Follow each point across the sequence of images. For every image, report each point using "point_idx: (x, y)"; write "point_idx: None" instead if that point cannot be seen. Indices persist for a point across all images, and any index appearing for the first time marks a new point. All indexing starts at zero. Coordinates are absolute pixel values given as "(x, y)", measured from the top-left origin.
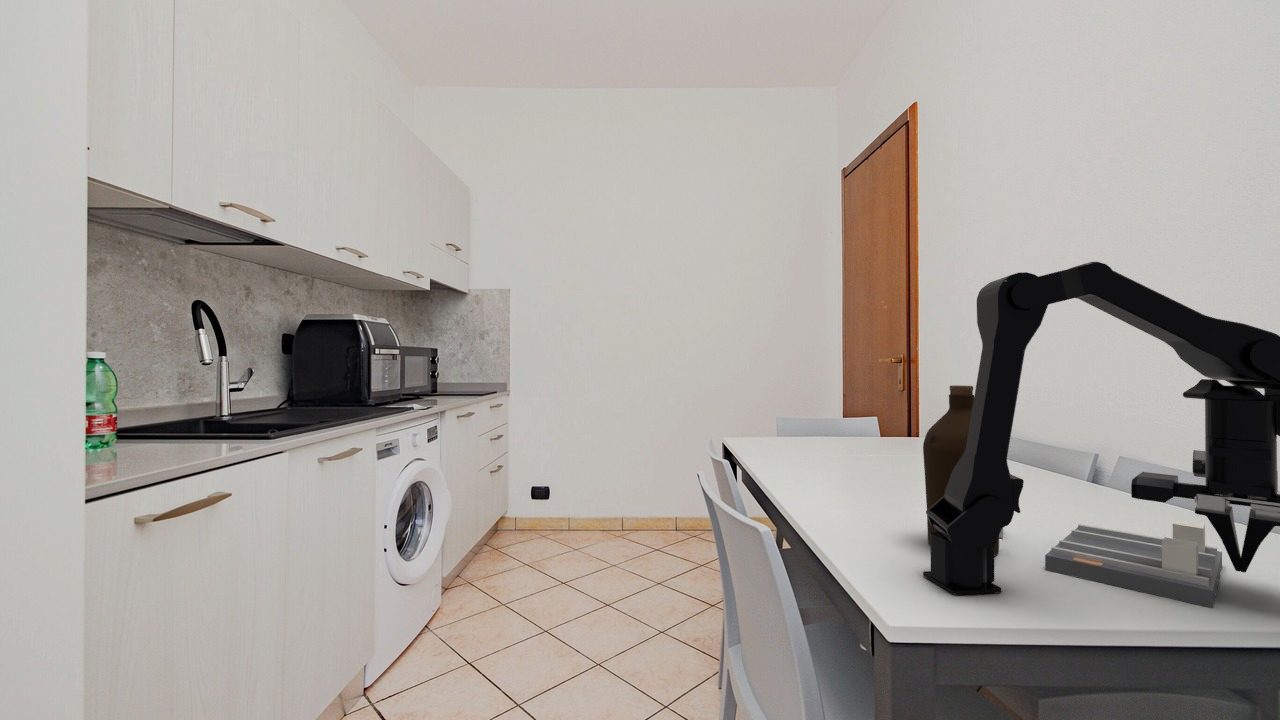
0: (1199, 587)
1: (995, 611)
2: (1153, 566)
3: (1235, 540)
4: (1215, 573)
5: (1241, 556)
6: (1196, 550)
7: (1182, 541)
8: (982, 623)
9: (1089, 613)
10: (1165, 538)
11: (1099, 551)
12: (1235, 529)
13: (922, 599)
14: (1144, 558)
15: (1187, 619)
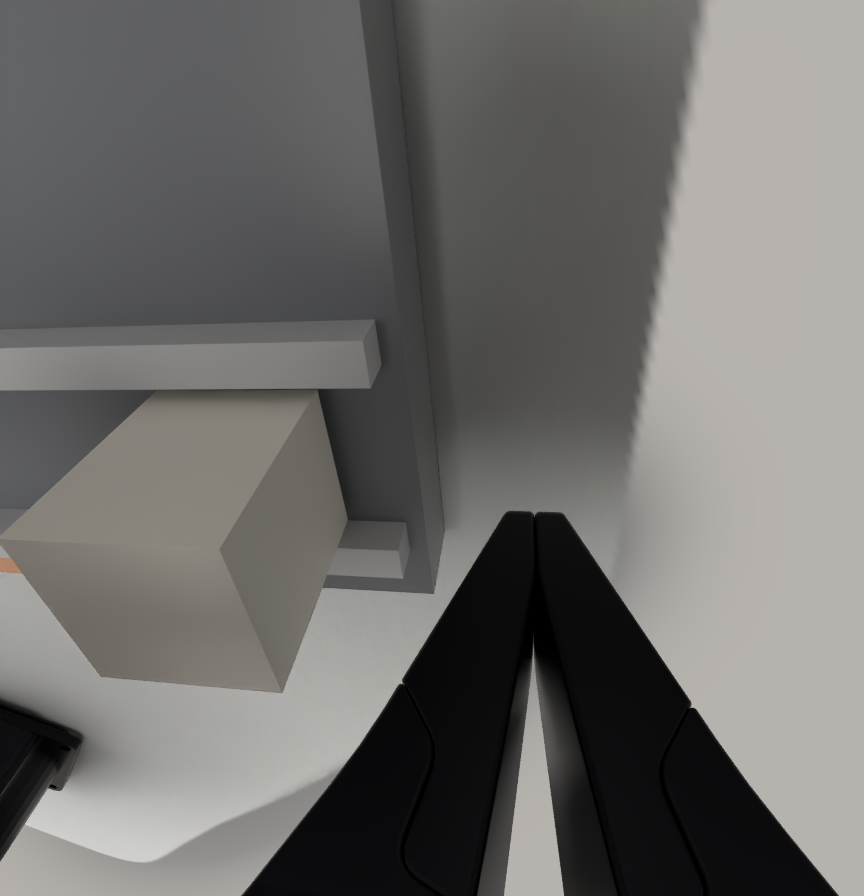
0: (386, 588)
1: (156, 796)
2: (117, 390)
3: (503, 889)
4: (381, 233)
5: (540, 706)
6: (279, 627)
7: (141, 586)
8: (185, 831)
9: (246, 737)
10: (33, 577)
11: None
12: (487, 851)
13: (65, 805)
14: (36, 387)
15: (407, 663)
